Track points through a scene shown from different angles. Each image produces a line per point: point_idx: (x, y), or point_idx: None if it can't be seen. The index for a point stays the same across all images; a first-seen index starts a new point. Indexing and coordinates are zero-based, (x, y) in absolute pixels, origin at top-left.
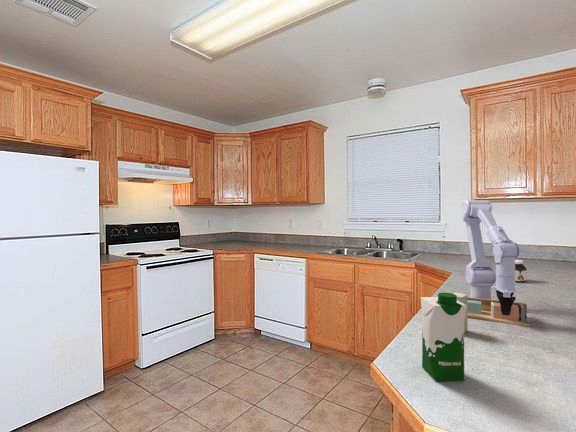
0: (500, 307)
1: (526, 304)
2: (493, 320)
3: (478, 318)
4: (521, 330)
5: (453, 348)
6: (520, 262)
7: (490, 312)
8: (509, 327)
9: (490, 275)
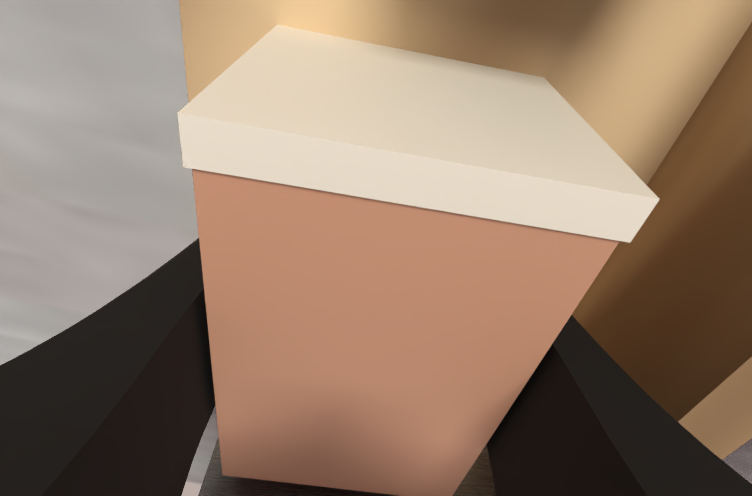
0: (214, 281)
1: None
2: (192, 30)
3: None
4: (29, 267)
5: None
6: None
7: (624, 86)
8: (45, 182)
9: None
